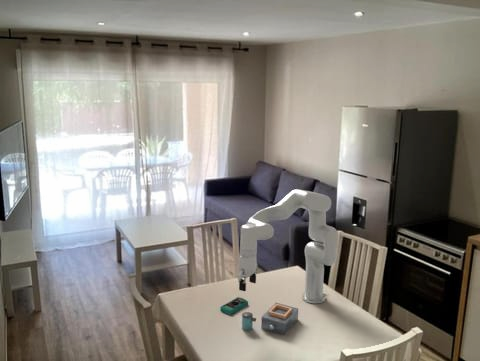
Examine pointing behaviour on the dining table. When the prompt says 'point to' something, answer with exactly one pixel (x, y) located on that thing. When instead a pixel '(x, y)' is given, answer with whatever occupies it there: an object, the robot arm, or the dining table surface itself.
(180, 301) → the dining table surface
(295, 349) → the dining table surface
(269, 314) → the grey box
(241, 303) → the digital multimeter
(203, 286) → the dining table surface
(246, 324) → the cylinder
